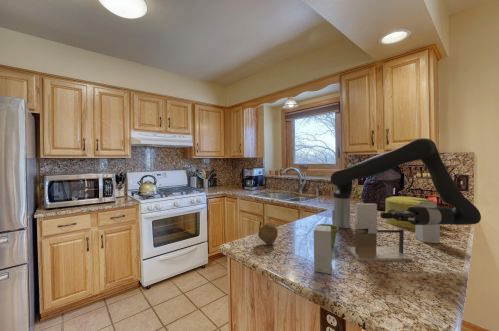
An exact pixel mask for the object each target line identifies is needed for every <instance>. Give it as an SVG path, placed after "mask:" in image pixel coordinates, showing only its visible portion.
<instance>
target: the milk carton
mask: <svg viewBox="0 0 499 331" xmlns="http://www.w3.org/2000/svg"><path fill="white" fill-rule="evenodd" d="M418 206H428V207H438V205H437V202H436V201H434V202H419V205H418ZM414 232H415V233H414V234H415V235H414V238H416V239H418V240H419V241H421V242H422V243H434V244H440V242H441V241H440V238H441V236H440V235H441V224H435V225H415V228H414Z"/></svg>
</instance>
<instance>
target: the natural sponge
mask: <svg viewBox="0 0 499 331" xmlns="http://www.w3.org/2000/svg"><path fill="white" fill-rule="evenodd" d="M278 233H279V232H278V227H276V226H275V225H274V224H272V223H268V222H267V223H264V224H263V225H262V226H261V227H260V229H259V231H258V233H257V235H258V238H259V239H260V240H261V241H263V242H264V243H265V244H266V245H268V246H271V245H273V244H274V243H275V241H276V240H277V238H278Z"/></svg>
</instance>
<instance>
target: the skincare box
mask: <svg viewBox="0 0 499 331" xmlns="http://www.w3.org/2000/svg"><path fill="white" fill-rule="evenodd" d="M332 260H333V258H332V247H331V226H322V225H319V224H317V225H315V226H314V229H313V269H314V270H313V271H314V272H315V273H316V272H317V273H323V274H328V275H332V266H333V265H332V264H333V263H332Z"/></svg>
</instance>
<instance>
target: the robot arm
mask: <svg viewBox="0 0 499 331" xmlns="http://www.w3.org/2000/svg"><path fill="white" fill-rule="evenodd" d="M415 161H421V162H422V163H423V165H424V166H425V167H426V170H427V171H428V173H429V175H430V179H431V181H432V184H433V187H434V188H435V190H436V192H437V194H438V195H439V197H440V199H441V200H442V202H444V203H445V204H449V205H452V206H453V207H443V206H442V207H441V206H437V207H428V206H411V207H409V208H408V210H407V211H406V210H400V211H396V210H395V209H394V210H390V211H388V213H385V212H380V214H379V215H380V218H381V219H391V218H392V219H396V220H397V221H406V222H410V223H411V224H413V225H435V224H440V225H455V226H462V225H463V226H464V225H476V224H479V223H480V222H481V220H482V214H481V213H480V210H479V209H478V208H477V206H475V205H474V204H473V203H472V202H471V200H469V199H468V198H467V197H465V195H463V193H462V191H461V190H460V188H459V187H458V185H457V184H456V182H455V181H454V179H453V178H452V175H451V174H450V172H449V171H448V170H447V168H446V166H445V164H444V162H443V159H442V158H441V155H440V153H439V151H438V147H437V145H436V143H435V141H433V140H432V139H430V138H426V137H424V138H417V139H416V138H415V139H413V140H412V141H410V142H408V143H406V144H404V145H402V146H400V147H397V148H395V149H393V150H390V151H386V152H383V153H381V154H377V155H375V156H372V157H370V158H367V159H365V160H363V161H361V162H358V163H356V164H354V165H352V166H349V167H347V168H344V169H339V170H336V171H334V172H333V173H331V176H330V183H331V184H332V185H334V186H336V187H337V188H336V190H334V192H333V204H332V205H333V209H332V212H331V214H332V217H331V218H332V220H331V222H332V223H331V225H334V226H337V227H338V228H339V229H349V228H350V227H351V195H352V192H353V181H354V180H355V181H356V180H360V179H364V178H369V177H373V176H377V175H381V174H384V173H385V172H389V171H390V170H393V169H394V168H396V167H398V166H400V165H404V164H407V163H410V162H415Z"/></svg>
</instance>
